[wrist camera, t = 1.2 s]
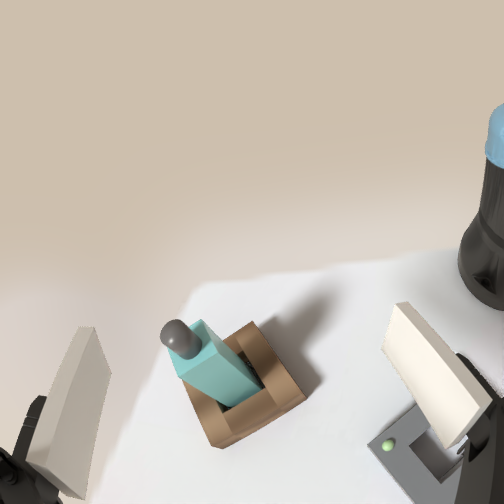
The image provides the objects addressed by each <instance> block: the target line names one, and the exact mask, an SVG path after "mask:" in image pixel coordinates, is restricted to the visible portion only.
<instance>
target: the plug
mask: <svg viewBox="0 0 504 504" xmlns="http://www.w3.org/2000/svg"><path fill="white" fill-rule="evenodd" d="M160 339H161V342H162V343H163V344H164V345H166V346H167V348H168V351H169V354H170V357H171V359H172V362H173V365H174V367H175V370H176V372H177V375H178V377H179V378H181V379H182V380H184V381H185V382H187V383H189V384H190V385H192V386H193V387H195V388H197V389H198V390H200V391H202V392H203V393H205V394H207V395H208V396H210V397H212V398H214V399H215V400H217V401H219V402H220V403H222V404H224V405H226V406H228V407H229V408H233V407H235V406H237V405H238V404H240V403H242V402H243V401H245V400H246V399H248V398H250V397H251V396H253V395H255V394H256V393H258V392H259V391H261V390H263V389H262V387H261V385H260V384H259V382H258V380H257V379H256V377H255V376H254V374H253V372H252V371H251V369H250V367H249V366H248V365H247V364H246V363H245V362H244V361H243V360H241V359H240V358H239V357H238V356H237V355H236V354H235V353H234V352H233V351H232V350H231V349H230V348H229V347H228V346H227V345H226V344H225V343H224V342H223V341H222V340H221V339H220V338H219V337H218V336H217V335H216V334H215V333H214V332H213V331H212V330H211V329H210V328H209V327H208V326H207V325H206V323H205V322H204V321H203V320H202V319H200V320H199V321H197V322H196V323H194V324H193V325H191V326H190V327H188V326H187V325H185V324H184V323H183V322H182V321H181V320H178V319H175V320H171V321H169V322H168V323H167V324H166V325H165V326H164V327H163V328H162V330H161V334H160Z"/></svg>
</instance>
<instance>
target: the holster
mask: <svg viewBox="0 0 504 504" xmlns="http://www.w3.org/2000/svg"><path fill="white" fill-rule="evenodd" d="M223 342H224V343H225V344H226V345H227V346H228V347H229V348H230V349H231V350H232V351H233V352H234V353H235V354H236V355H237V356H238V357H239V358H240V359H241V360H243V361H244V362H245V363H247V362H248V361H250V363H251V364H252V366H253V368H254V369H255V371H256V372H257V374H258V376H259V377H260V379H261V380H262V382H263V384H264V385H265V387H266V388H264V389H263V390H261V391H259V392H258V393H256V394H255V395H253V396H251V397H250V398H248V399H246V400H245V401H243V402H242V403H240V404H238V405H237V406H235V407H233V408H231V409H230V410H228V409H227V407H226V405H224V404H222V403H220V402H219V401H217V400H215V399H214V398H212V397H210V396H208V395H207V394H205V393H203V392H202V391H200V390H198V389H197V388H195V387H193V386H192V385H190V384H189V383H187V382H185V381H184V380H182V381H183V383H184V386H185V388H186V391H187V393H188V396H189V398H190V400H191V403H192V405H193V407H194V410H195V412H196V414H197V416H198V419H199V421H200V423H201V425H202V427H203V430H204V432H205V434H206V436H207V438H208V440H209V442H210V444H211V446H213V447H216V448H220V449H224V448H226V447H228V446H230V445H232V444H234V443H236V442H237V441H239V440H241V439H243V438H245V437H247V436H248V435H250V434H252V433H254V432H255V431H257V430H259V429H260V428H262V427H264V426H266V425H267V424H269V423H271V422H272V421H274V420H275V419H277V418H279V417H280V416H282V415H283V414H285V413H287V412H288V411H290V410H291V409H293V408H294V407H296V406H297V405H299V404H300V403H302V402H303V401H305V400H306V399H307V398H306V396H305V395H304V394H303V392H302V391H301V389H300V388H299V387H298V385H297V384H296V382H295V381H294V380H293V378H292V377H291V375H290V374H289V372H288V371H287V370H286V368H285V367H284V365H283V364H282V362H281V361H280V360H279V358H278V357H277V355H276V354H275V352H274V351H273V349H272V348H271V346H270V345H269V344H268V342H267V341H266V339H265V338H264V336H263V335H262V333H261V332H260V330H259V329H258V328H257V326H256V325H255V324H254V322H253V321H251V322H250V323H248V324H247V325H245V326H244V327H242V328H241V329H239V330H238V331H236V332H235V333H233V334H232V335H230V336H229V337H227V338H226V339H224V340H223Z"/></svg>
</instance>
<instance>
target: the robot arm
mask: <svg viewBox="0 0 504 504" xmlns="http://www.w3.org/2000/svg"><path fill="white" fill-rule="evenodd" d="M485 154H486V156H487V157H486V167H485V174H484V182H483V189H482V195H481V201H480V207H479V211H478V213H477V215H476V216H475V218H474V219H473V221H472V223H471V224H470V226H469V227H468V229H467V230H466V232H465V233H464V235H463V237H462V240H461V244H460V248H459V253H458V267H459V271H460V274H461V277H462V279H463V281H464V283H465V285H466V286H467V288H468V289H469V290H470V292H471V293H472V294H473V295H474V296H475V297H476V298H477V299H479V300H480V301H481V302H483V303H484V304H486V305H488V306H490V307H492V308H494V309H497V310H502V311H504V104H502V105H500V106H498V107H497V108H496V109H495V110H494V111H493V113H492V114H491V117H490V120H489V128H488V138H487V141H486V144H485ZM381 349H382V351H383V352H384V354H385V355H386V357H387V358H388V360H389V361H390V363H391V364H392V366H393V367H394V369H395V370H396V372H397V373H398V375H399V376H400V378H401V379H402V381H403V382H404V384H405V385H406V387H407V388H408V390H409V391H410V393H411V395H412V396H413V398H414V399H415V401H416V402H417V404H418V406H419V407H420V409H421V410H422V412H423V414H424V415H425V417H426V418H427V420H428V422H429V423H430V425H431V426H432V428H433V430H434V431H435V433H436V435H437V436H438V438H439V440H440V441H441V443H442V445H443V446H444V448H445V450H446V449H448V448H450V447H452V446H454V445H455V444H457V443H459V442H460V441H461V440H462V438H463V437H464V436H465V435H467V436H468V440H467V441H466V442H465V443H464V444H463V445H462V446H461V447H460V448H459V449H458V452H457V454H460V452H461V451H462V450H463V449H464V448H465V451H464V452H463V453H462V455H464V457H463V464H462V469H461V475H460V480H459V485H458V489H457V494H456V498H455V502H454V504H504V397H503V398H500V397H499V396H498V395H497V394H496V392H495V391H494V390H493V389H492V387H491V386H490V385H489V384H488V382H487V381H486V380H485V379H484V378H483V376H482V375H480V373H479V372H478V370H477V369H475V368H474V366H473V365H472V363H471V362H470V361H469V360H468V359H467V358H465V357H464V356H462V355H461V354H459V353H457V354H455V353H454V352H453V351H452V350H451V349H450V347H449V346H448V345H447V344H446V343H445V342H444V341H443V340H442V338H441V337H440V336H439V335H438V334H437V333H436V332H435V331H434V329H433V328H432V327H431V326H430V325H429V324H428V323H427V322H426V321H425V320H424V319H423V317H422V316H421V315H420V314H419V313H418V312H417V311H416V310H415V309H414V308H413V307H412V306H411V305H410V304H409V303H408V302H403V303H397V304H395V306H394V309H393V313H392V316H391V319H390V323H389V326H388V329H387V333H386V336H385V339H384V342H383V345H382V348H381ZM110 377H111V370H110V368H109V366H108V363H107V360H106V358H105V355H104V353H103V350H102V347H101V345H100V342H99V339H98V336H97V334H96V331H95V328H94V327H78V329H77V331H76V333H75V335H74V337H73V340H72V342H71V344H70V346H69V348H68V350H67V352H66V354H65V357H64V359H63V361H62V363H61V365H60V368H59V370H58V372H57V375H56V377H55V380H54V382H53V384H52V387H51V389H50V392H49V394H48V397H46V396H40V395H39V396H38V397H37V398H36V399H35V400H34V401H33V403H32V404H31V405H30V407H29V410H28V412H27V415H26V416H27V417H26V418H25V420H24V423H23V426H22V428H21V431H20V434H19V436H18V439H17V442H16V445H15V448H14V451H13V454H12V456H11V455H10V454H8V452H7V451H5V450H4V449H3V448H1V447H0V504H63V503H62V501H61V499H60V498H59V497H58V493H59V490H60V491H61V492H62V493H63V494H65V495H66V496H69V497H73V498H77V499H81V500H85V496H86V491H87V484H88V477H89V471H90V466H91V459H92V454H93V450H94V444H95V439H96V434H97V430H98V426H99V421H100V417H101V412H102V408H103V403H104V400H105V396H106V392H107V388H108V384H109V381H110Z"/></svg>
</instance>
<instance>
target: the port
mask: <svg viewBox="0 0 504 504" xmlns="http://www.w3.org/2000/svg"><path fill="white" fill-rule="evenodd" d="M430 426H431V425H430V423H429V422H428V420H427V418H426V417H425V415H424V414H423V412H422V410H421V409H420V407H419V406H418V404H416V405H415V406H414V407H413V408H412V409H411V410H409V411H408V412H407V413H406V414H405V415H404V416H403V417H401V418H400V419H399V420H398V421H397V422H395V423H394V424H393V425H392V426H391V427H389V428H388V429H387V430H386V431H384V432H383V433H382V434H380V435H379V436H378V437H377V438H375V439H374V440H373V441H371V442H370V443H369V444H367V447H368V448H369V449H370V450H371V452H372V453H373V454H374V455H375V457H376V458H377V459H378V461H379V462H380V463H381V464H382V466H383V467H384V468H385V469H386V470H387V472H388V473H389V474H390V475H391V477H392V478H393V479H394V480H395V482H396V483H397V484H398V485H399V487H400V488H401V489H402V490H403V491H404V493H405V494H406V495H407V496H408V497H409V499H410V500H411V501H412V502H413V504H454V502H455V498H456V494H457V489H458V485H459V480H460V475H461V469H462V464H463V458H462V459H461V460H460V461H459V462H458V463H457V464H456V465H455V466H454V467H453V468H452V469H451V470H449V471H448V472H447V473H446V474H445V475H444V476H443V477H442V478H441V479H439V480H437V479H436V478H435V477H434V476H433V474H432V473H431V472H430V471H429V470H428V469H427V467H426V466H425V465H424V464H423V463H422V461H421V460H420V459H419V458H418V457H417V455H416V454H415V453H414V452H413V451H412V450H411V448H410V447H409V445H410V444H411V443H412V442H414V441H415V440H416V439H417V438H418V437H419V436H420V435H422V434H423V433H424V432H425V431H426V430H427V429H428V428H429V427H430Z"/></svg>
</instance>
